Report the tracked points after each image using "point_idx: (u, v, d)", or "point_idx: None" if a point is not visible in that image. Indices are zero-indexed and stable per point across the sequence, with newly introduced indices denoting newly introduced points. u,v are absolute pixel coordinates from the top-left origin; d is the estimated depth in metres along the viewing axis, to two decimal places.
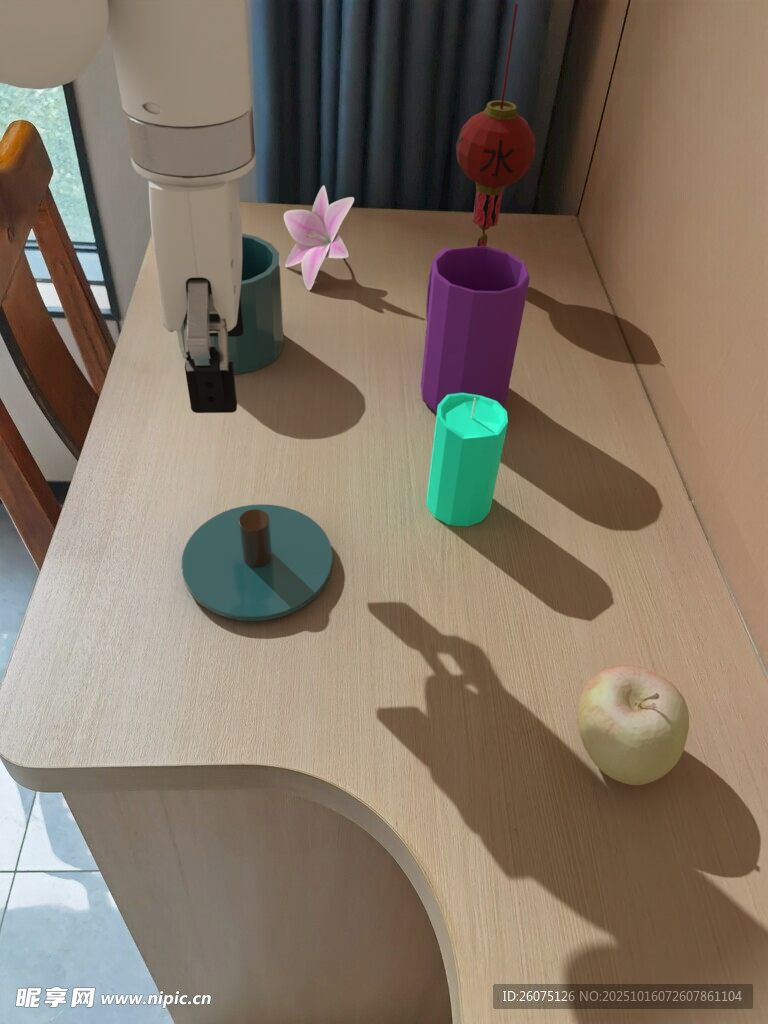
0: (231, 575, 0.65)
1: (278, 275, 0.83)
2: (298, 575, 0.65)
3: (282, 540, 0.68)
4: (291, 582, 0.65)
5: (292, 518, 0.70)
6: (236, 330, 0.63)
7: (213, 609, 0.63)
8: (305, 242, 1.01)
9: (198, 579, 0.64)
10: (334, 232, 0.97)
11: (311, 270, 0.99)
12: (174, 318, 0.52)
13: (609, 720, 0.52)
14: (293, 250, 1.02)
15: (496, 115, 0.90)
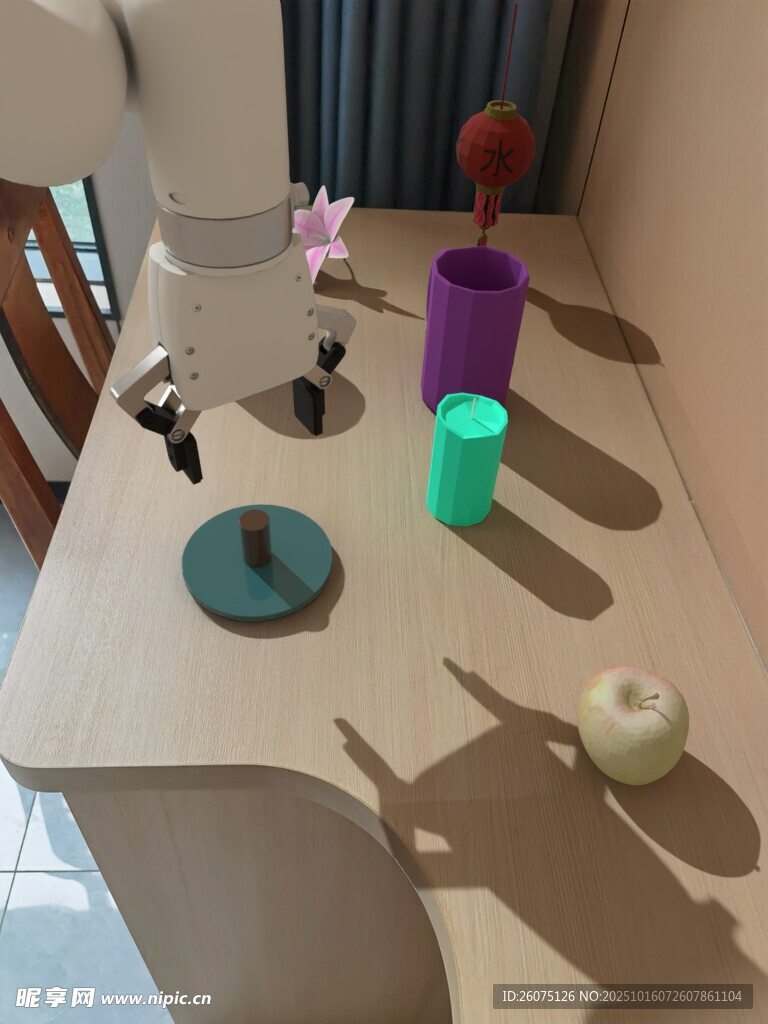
0: (231, 575, 0.65)
1: None
2: (298, 575, 0.65)
3: (282, 540, 0.68)
4: (291, 582, 0.65)
5: (292, 518, 0.70)
6: (311, 428, 0.59)
7: (213, 609, 0.63)
8: (305, 242, 1.01)
9: (198, 579, 0.64)
10: (334, 232, 0.97)
11: (311, 270, 0.99)
12: None
13: (609, 720, 0.52)
14: None
15: (496, 115, 0.90)
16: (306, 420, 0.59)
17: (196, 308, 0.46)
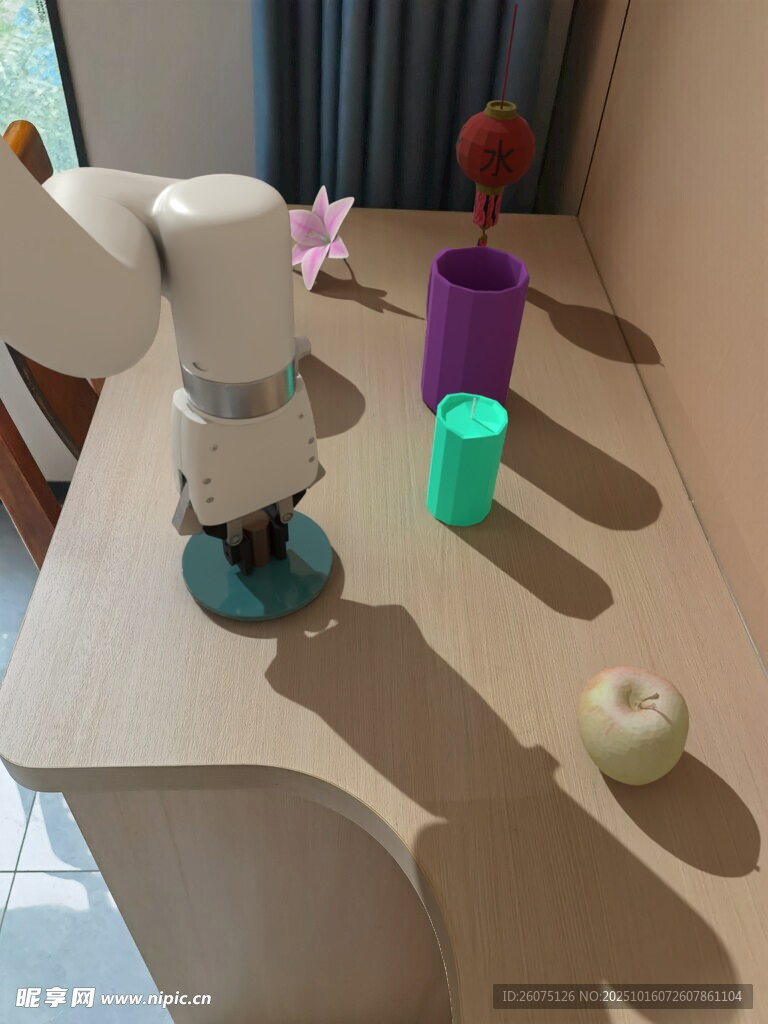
0: (231, 575, 0.65)
1: None
2: (298, 575, 0.65)
3: None
4: (291, 582, 0.65)
5: None
6: (276, 554, 0.66)
7: (213, 609, 0.63)
8: (305, 242, 1.01)
9: (198, 579, 0.64)
10: (334, 232, 0.97)
11: (311, 270, 0.99)
12: (177, 487, 0.59)
13: (609, 720, 0.52)
14: (293, 250, 1.02)
15: (496, 115, 0.90)
16: (272, 546, 0.66)
17: (213, 448, 0.53)
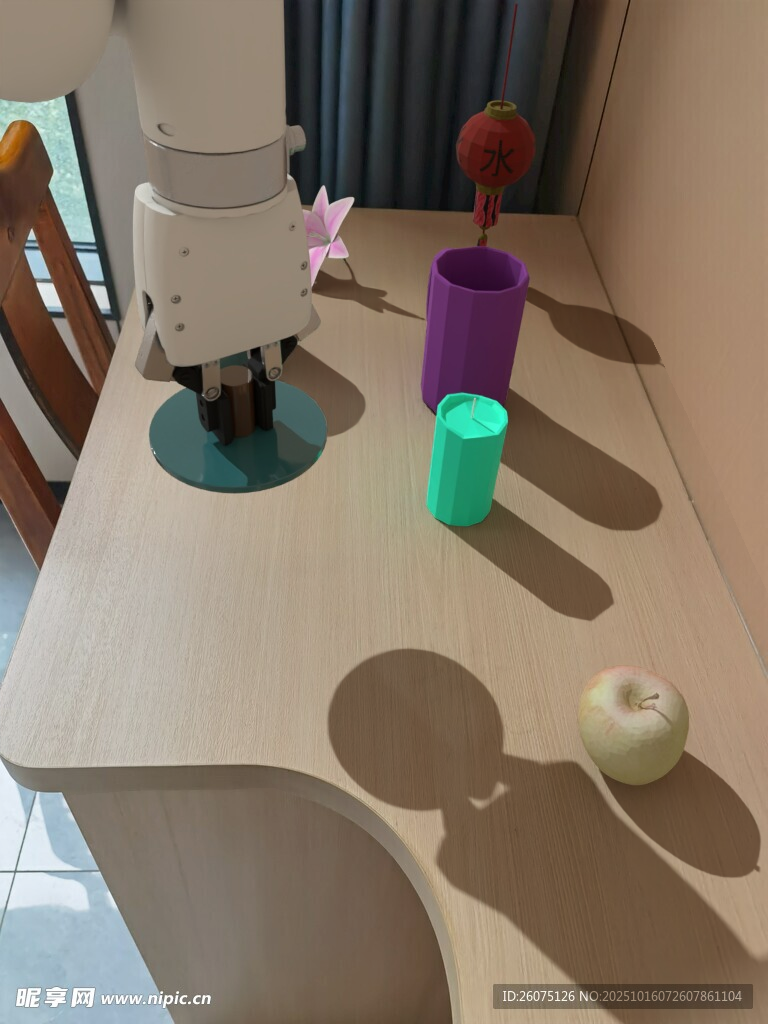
0: (207, 445, 0.55)
1: None
2: (286, 446, 0.55)
3: None
4: (278, 453, 0.55)
5: (281, 390, 0.60)
6: (261, 422, 0.56)
7: (185, 479, 0.53)
8: None
9: (168, 448, 0.54)
10: (334, 232, 0.97)
11: (311, 270, 0.99)
12: (142, 322, 0.49)
13: (609, 720, 0.52)
14: None
15: (496, 115, 0.90)
16: (256, 414, 0.56)
17: (183, 252, 0.43)
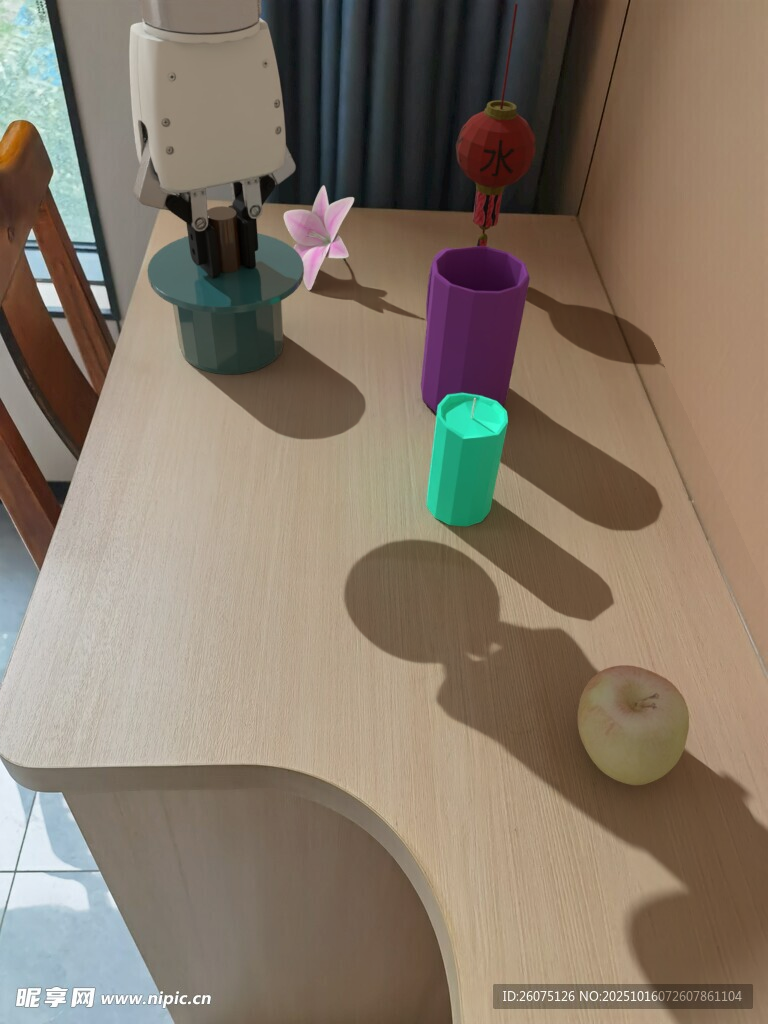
0: (198, 277, 0.63)
1: None
2: (267, 280, 0.63)
3: None
4: (259, 284, 0.63)
5: (264, 241, 0.68)
6: (245, 260, 0.64)
7: (177, 301, 0.61)
8: (305, 242, 1.01)
9: (164, 279, 0.62)
10: (334, 232, 0.97)
11: (311, 270, 0.99)
12: (139, 155, 0.57)
13: (609, 720, 0.52)
14: None
15: (496, 115, 0.90)
16: None
17: (171, 77, 0.51)
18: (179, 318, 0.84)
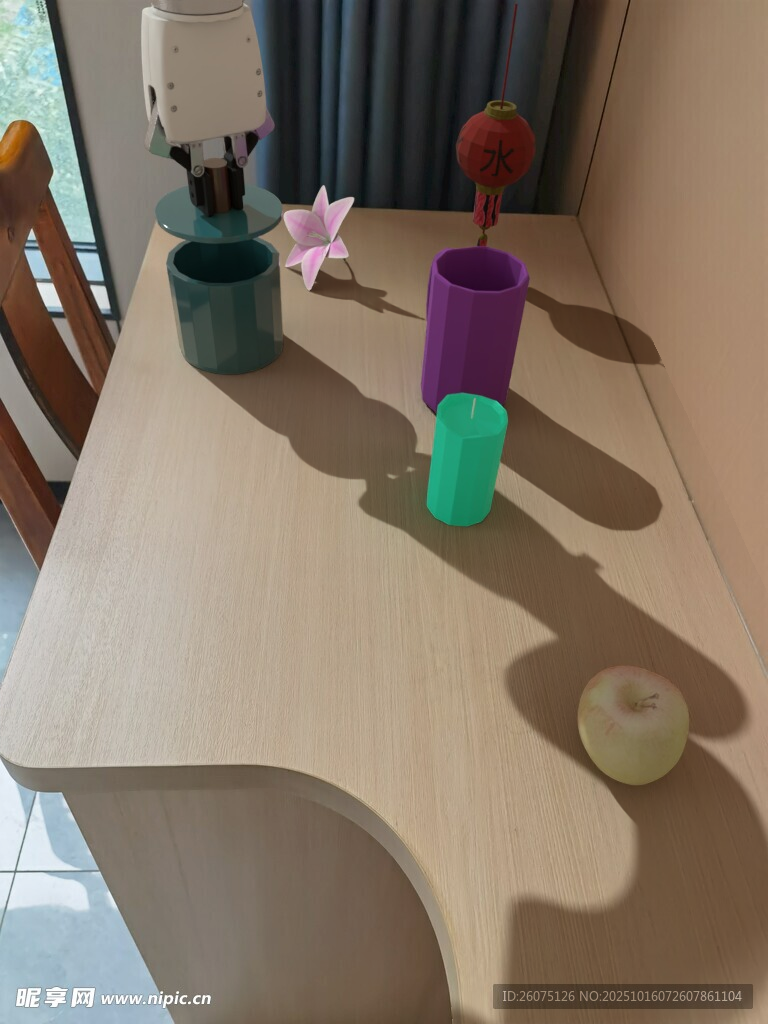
0: (196, 216, 0.77)
1: (278, 275, 0.83)
2: (253, 218, 0.78)
3: None
4: (246, 221, 0.77)
5: (250, 189, 0.82)
6: (234, 203, 0.78)
7: (180, 234, 0.75)
8: (305, 242, 1.01)
9: (168, 218, 0.77)
10: (334, 232, 0.97)
11: (311, 270, 0.99)
12: (148, 114, 0.71)
13: (609, 720, 0.52)
14: (293, 250, 1.02)
15: (496, 115, 0.90)
16: None
17: (175, 49, 0.65)
18: (179, 318, 0.84)
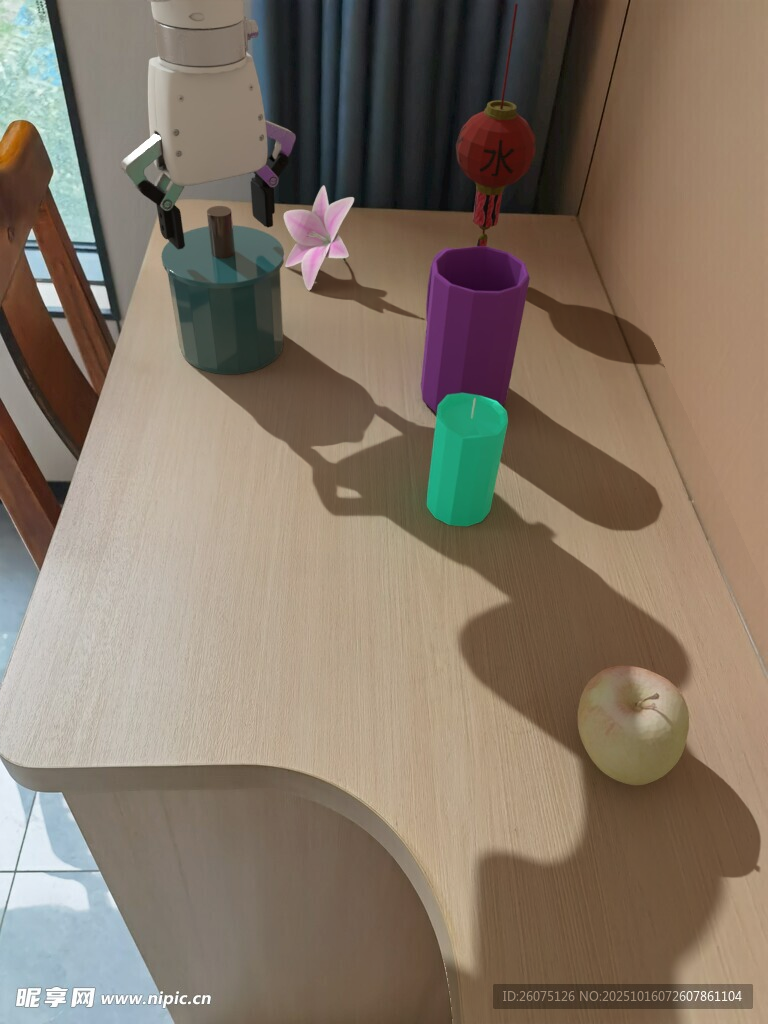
0: (201, 261, 0.81)
1: (278, 275, 0.83)
2: (255, 263, 0.81)
3: (244, 244, 0.83)
4: (249, 266, 0.80)
5: (253, 233, 0.85)
6: (264, 220, 0.81)
7: (186, 279, 0.78)
8: (305, 242, 1.01)
9: (174, 263, 0.80)
10: (334, 232, 0.97)
11: (311, 270, 0.99)
12: None
13: (609, 720, 0.52)
14: (293, 250, 1.02)
15: (496, 115, 0.90)
16: (261, 215, 0.81)
17: (180, 99, 0.68)
18: (179, 318, 0.84)
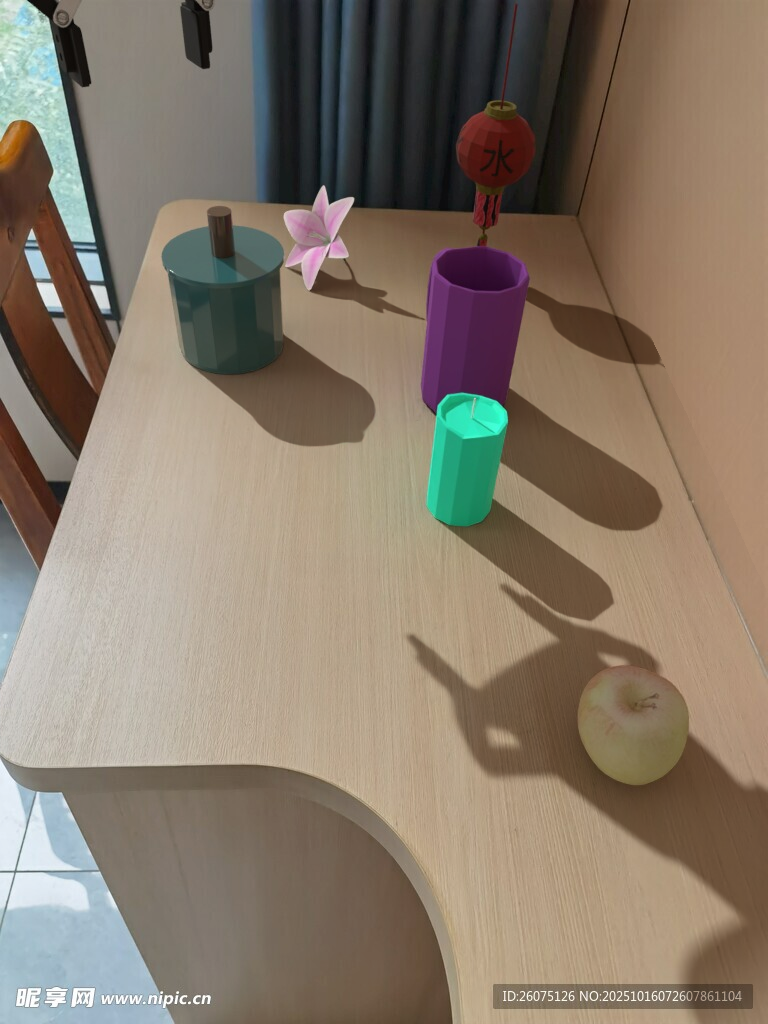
0: (201, 261, 0.81)
1: (278, 275, 0.83)
2: (255, 263, 0.81)
3: (244, 244, 0.83)
4: (249, 266, 0.80)
5: (253, 233, 0.85)
6: (199, 59, 0.63)
7: (186, 279, 0.78)
8: (305, 242, 1.01)
9: (174, 263, 0.80)
10: (334, 232, 0.97)
11: (311, 270, 0.99)
12: None
13: (609, 720, 0.52)
14: (293, 250, 1.02)
15: (496, 115, 0.90)
16: (194, 53, 0.64)
17: None
18: (179, 318, 0.84)
